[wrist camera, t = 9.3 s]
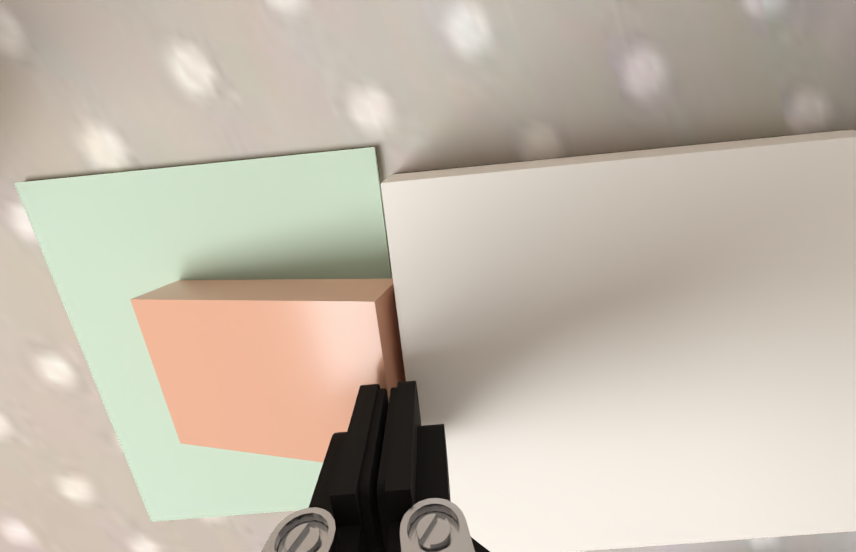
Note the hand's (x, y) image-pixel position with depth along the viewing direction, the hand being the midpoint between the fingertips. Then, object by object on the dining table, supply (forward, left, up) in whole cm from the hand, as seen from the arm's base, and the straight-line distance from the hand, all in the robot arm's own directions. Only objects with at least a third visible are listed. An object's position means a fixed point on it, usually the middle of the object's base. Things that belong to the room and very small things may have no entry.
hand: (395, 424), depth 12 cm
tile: (+4, -1, -4) cm, 5 cm away
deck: (-8, 0, -5) cm, 10 cm away
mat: (+7, 0, -5) cm, 8 cm away
